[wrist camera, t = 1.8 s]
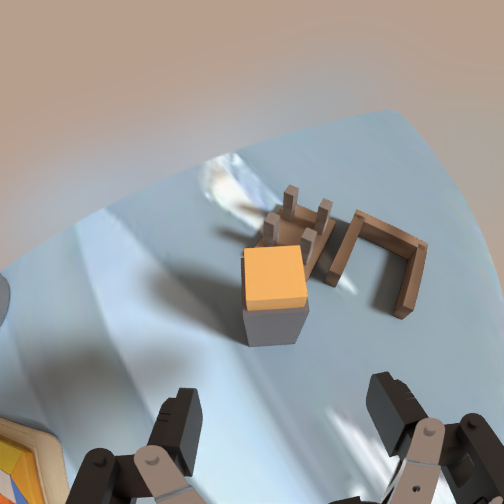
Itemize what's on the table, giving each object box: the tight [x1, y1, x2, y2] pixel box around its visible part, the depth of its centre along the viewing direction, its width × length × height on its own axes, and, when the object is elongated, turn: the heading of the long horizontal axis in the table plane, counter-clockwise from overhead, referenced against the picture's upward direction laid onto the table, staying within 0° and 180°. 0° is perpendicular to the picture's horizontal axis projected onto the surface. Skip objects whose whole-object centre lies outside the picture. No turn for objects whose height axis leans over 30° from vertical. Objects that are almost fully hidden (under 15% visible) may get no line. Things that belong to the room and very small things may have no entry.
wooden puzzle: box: [0, 417, 70, 504], centre depth 12 cm, size 18×19×4 cm
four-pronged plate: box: [255, 185, 336, 282], centre depth 27 cm, size 6×8×5 cm
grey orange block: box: [241, 245, 309, 347], centre depth 20 cm, size 4×4×10 cm
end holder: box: [324, 209, 428, 319], centre depth 26 cm, size 9×8×2 cm
